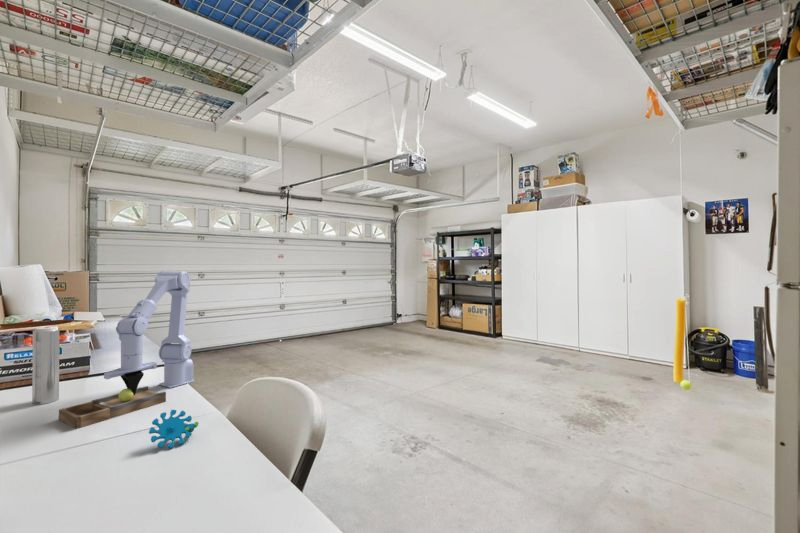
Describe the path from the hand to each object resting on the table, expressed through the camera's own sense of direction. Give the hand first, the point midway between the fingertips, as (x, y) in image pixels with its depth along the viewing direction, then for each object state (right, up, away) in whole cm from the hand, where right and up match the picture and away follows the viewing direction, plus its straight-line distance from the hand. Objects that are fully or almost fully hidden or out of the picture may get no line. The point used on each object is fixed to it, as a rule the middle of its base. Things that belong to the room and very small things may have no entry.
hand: (131, 395), depth 119 cm
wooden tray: (-2, -3, -4) cm, 6 cm away
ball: (-1, 0, -1) cm, 2 cm away
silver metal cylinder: (-31, -3, +3) cm, 32 cm away
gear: (+29, -4, -24) cm, 38 cm away
